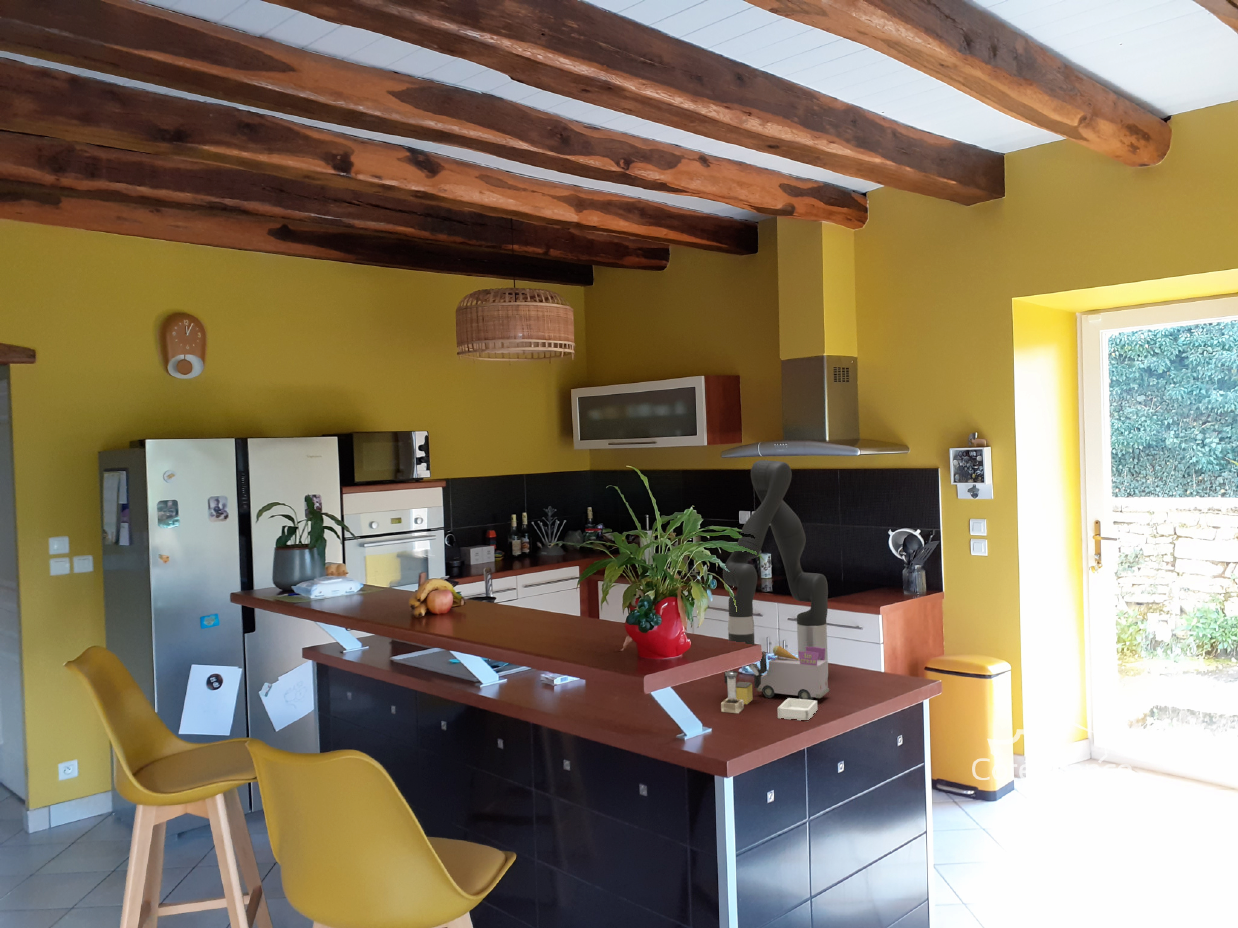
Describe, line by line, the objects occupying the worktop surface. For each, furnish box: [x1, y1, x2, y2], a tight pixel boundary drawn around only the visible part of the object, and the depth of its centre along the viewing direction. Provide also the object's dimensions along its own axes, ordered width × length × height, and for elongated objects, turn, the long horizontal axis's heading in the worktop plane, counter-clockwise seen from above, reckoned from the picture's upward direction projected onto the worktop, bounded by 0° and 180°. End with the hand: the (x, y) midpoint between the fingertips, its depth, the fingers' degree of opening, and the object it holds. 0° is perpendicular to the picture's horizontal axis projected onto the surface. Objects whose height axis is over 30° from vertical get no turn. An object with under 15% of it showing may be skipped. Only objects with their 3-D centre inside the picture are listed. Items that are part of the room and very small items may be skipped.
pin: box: [725, 670, 738, 704], centre depth 263 cm, size 3×3×11 cm
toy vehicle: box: [756, 645, 830, 700], centre depth 274 cm, size 9×20×15 cm, turn 59°
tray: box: [777, 697, 819, 721], centre depth 257 cm, size 10×8×3 cm
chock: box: [736, 681, 754, 705], centre depth 272 cm, size 5×4×5 cm
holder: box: [720, 697, 745, 714], centre depth 263 cm, size 5×5×2 cm
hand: (742, 686), depth 271 cm, fingers open, 8 cm apart
